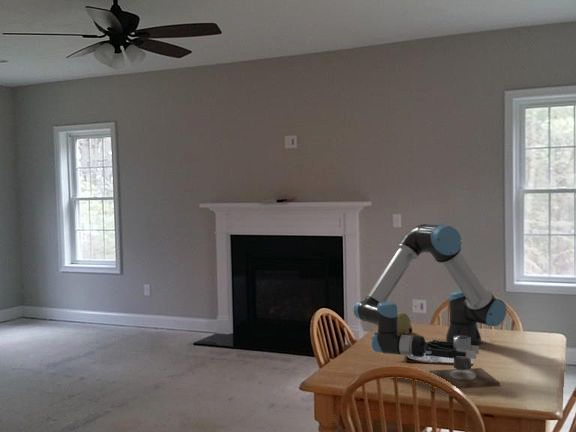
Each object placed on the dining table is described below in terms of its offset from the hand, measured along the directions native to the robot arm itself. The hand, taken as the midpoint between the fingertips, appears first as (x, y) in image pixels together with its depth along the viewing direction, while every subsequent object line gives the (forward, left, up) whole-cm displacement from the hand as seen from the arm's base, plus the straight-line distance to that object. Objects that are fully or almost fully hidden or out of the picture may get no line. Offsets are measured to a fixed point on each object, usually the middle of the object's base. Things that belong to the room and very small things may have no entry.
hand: (477, 352), depth 198 cm
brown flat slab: (+4, -3, -10) cm, 12 cm away
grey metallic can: (+5, -3, -6) cm, 8 cm away
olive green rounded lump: (+9, -71, -11) cm, 72 cm away
